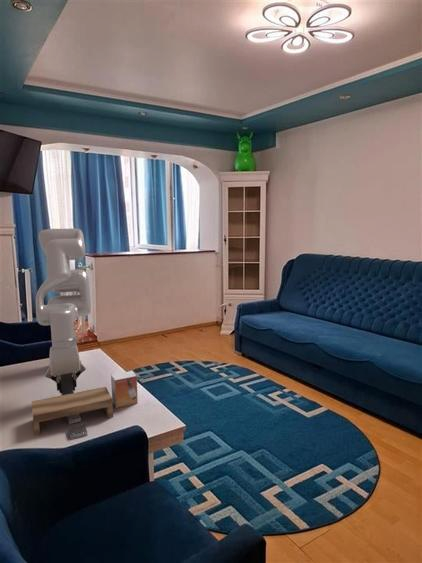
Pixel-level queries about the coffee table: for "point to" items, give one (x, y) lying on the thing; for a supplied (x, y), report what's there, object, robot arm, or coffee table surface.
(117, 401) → the small box
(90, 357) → the coffee table surface
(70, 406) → the bench
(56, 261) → the robot arm
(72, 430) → the token
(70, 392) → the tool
